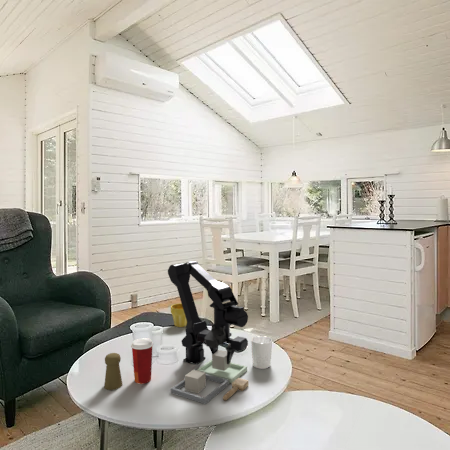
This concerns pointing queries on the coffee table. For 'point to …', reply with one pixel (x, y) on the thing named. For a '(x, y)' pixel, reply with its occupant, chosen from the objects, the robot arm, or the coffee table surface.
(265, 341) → the white cup
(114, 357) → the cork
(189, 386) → the beige cube
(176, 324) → the plant pot
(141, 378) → the paper cup
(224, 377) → the bin
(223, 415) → the coffee table surface
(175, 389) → the bin
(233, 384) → the wooden mallet
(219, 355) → the beige cube
